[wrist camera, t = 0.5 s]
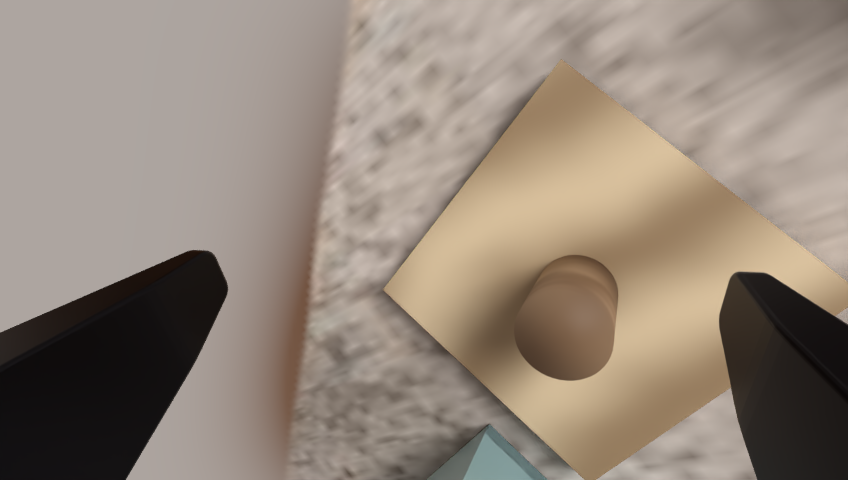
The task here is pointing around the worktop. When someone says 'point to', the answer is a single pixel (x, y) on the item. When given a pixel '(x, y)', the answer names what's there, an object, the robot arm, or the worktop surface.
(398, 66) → the worktop surface
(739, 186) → the worktop surface
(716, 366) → the lid
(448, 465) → the light blue box
